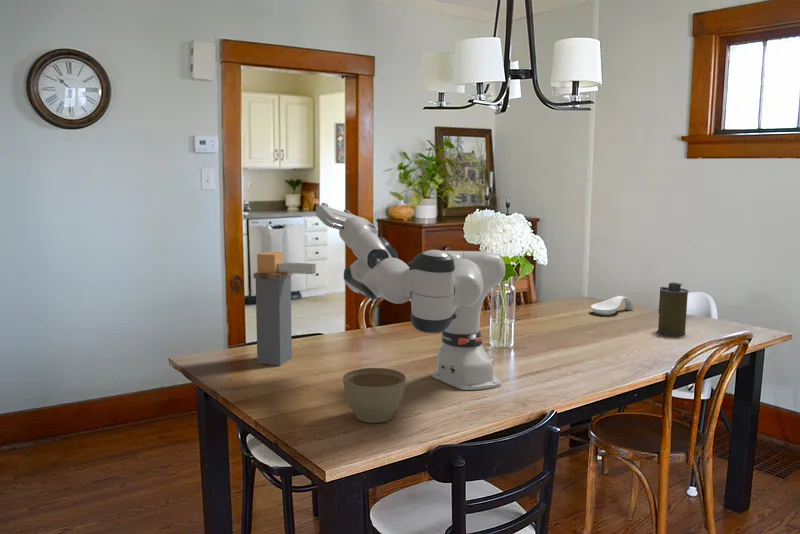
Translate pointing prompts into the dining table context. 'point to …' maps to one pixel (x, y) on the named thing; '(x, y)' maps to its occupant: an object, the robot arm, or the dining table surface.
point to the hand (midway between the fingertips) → (334, 208)
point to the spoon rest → (611, 305)
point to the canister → (672, 310)
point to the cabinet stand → (273, 317)
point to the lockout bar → (281, 264)
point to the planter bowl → (374, 393)
